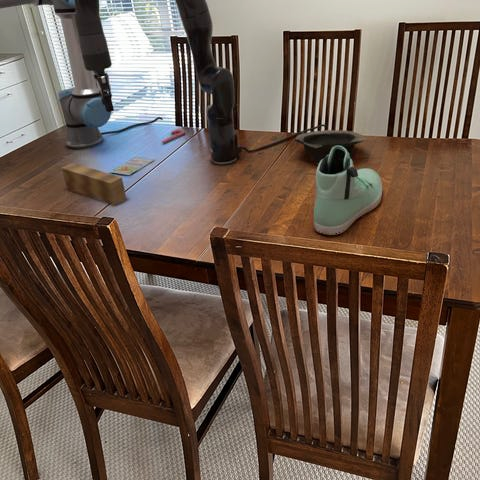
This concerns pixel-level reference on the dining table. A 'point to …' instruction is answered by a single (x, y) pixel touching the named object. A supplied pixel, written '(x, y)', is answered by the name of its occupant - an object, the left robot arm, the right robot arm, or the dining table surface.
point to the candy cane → (179, 131)
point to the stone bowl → (328, 142)
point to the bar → (94, 183)
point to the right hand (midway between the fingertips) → (108, 107)
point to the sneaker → (343, 192)
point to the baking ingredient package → (131, 166)
